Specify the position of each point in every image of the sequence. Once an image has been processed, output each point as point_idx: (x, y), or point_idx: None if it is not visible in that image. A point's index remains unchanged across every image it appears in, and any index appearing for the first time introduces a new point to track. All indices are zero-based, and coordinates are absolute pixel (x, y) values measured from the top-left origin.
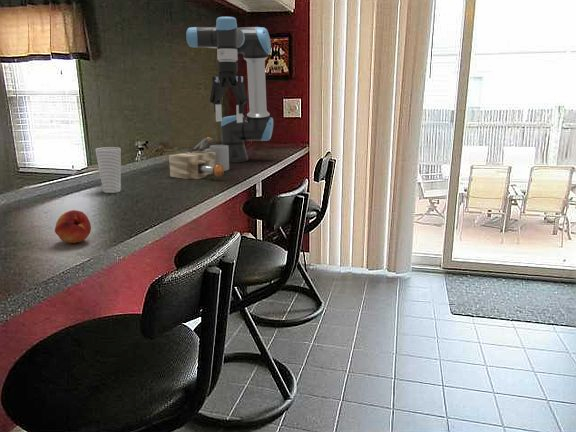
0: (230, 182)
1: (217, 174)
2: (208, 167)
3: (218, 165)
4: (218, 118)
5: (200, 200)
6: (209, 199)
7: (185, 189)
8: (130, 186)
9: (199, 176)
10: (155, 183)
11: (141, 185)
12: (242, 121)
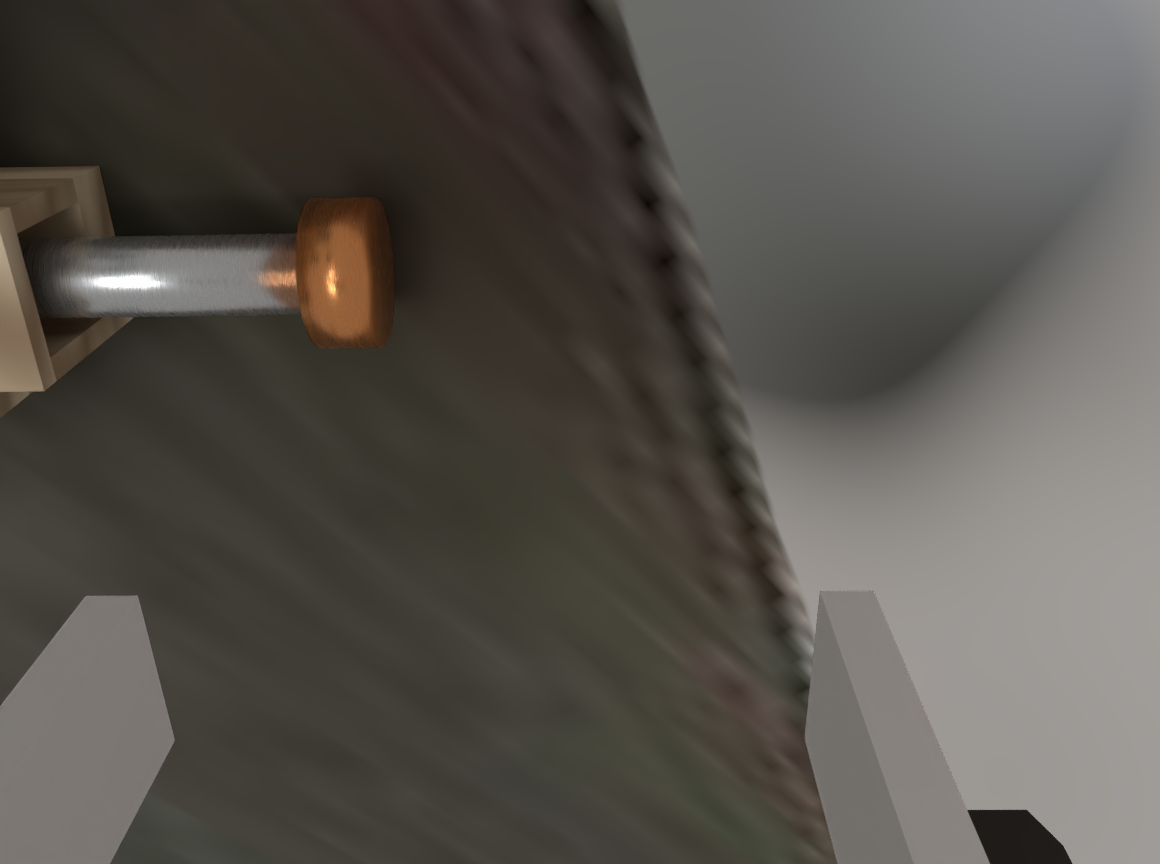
0: (561, 259)
1: (391, 314)
2: (202, 311)
3: (359, 319)
4: (135, 762)
5: (818, 850)
6: None
7: (459, 690)
8: None
9: None
10: None
11: None
12: (879, 612)
